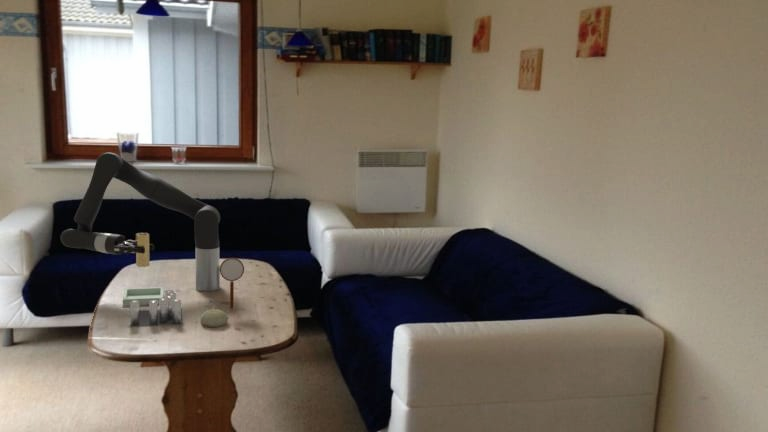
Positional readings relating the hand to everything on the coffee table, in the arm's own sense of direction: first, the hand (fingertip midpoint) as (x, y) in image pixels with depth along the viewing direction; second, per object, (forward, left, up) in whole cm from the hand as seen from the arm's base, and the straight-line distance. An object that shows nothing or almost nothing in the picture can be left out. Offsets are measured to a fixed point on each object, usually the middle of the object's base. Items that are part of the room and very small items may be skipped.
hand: (148, 249), depth 257 cm
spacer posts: (-3, +22, -20) cm, 30 cm away
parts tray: (+2, -2, -20) cm, 21 cm away
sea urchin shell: (-22, +29, -21) cm, 41 cm away
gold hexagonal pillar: (+2, -2, -7) cm, 7 cm away
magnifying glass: (-29, +15, -21) cm, 39 cm away
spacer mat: (-3, +20, -20) cm, 29 cm away
